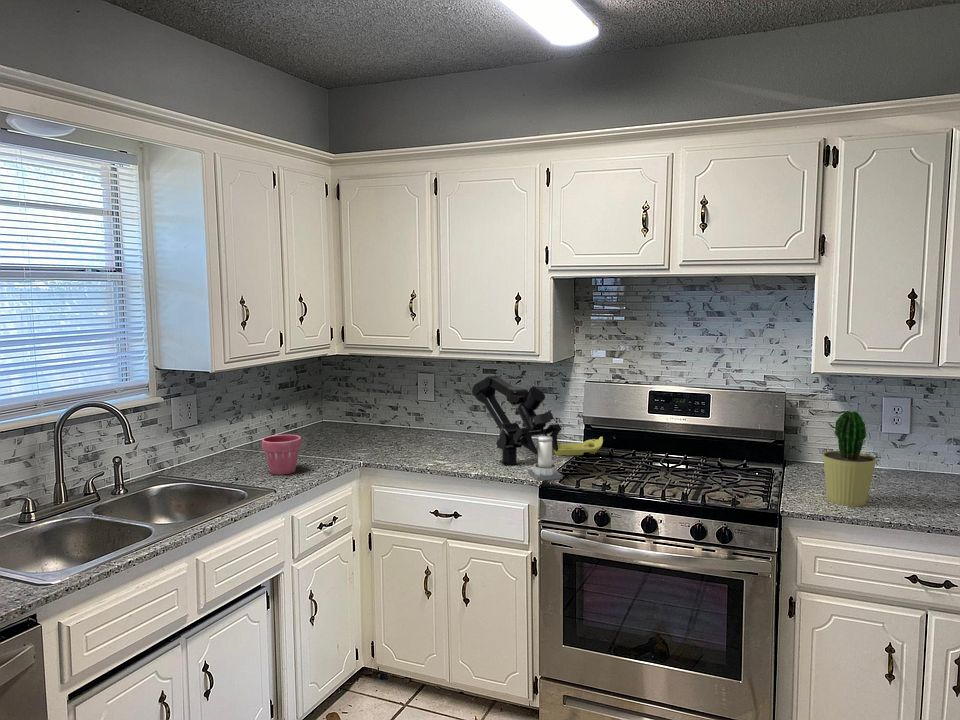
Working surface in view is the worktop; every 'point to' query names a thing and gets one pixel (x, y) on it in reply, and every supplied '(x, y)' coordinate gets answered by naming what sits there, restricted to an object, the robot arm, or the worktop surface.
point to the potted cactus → (848, 463)
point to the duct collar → (544, 473)
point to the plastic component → (579, 447)
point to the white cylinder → (545, 452)
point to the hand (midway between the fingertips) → (547, 452)
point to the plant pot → (281, 452)
